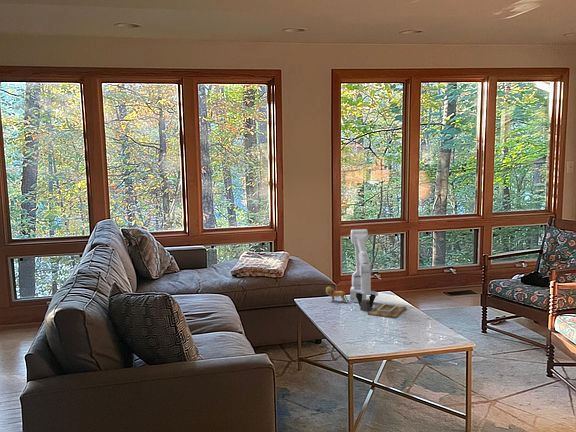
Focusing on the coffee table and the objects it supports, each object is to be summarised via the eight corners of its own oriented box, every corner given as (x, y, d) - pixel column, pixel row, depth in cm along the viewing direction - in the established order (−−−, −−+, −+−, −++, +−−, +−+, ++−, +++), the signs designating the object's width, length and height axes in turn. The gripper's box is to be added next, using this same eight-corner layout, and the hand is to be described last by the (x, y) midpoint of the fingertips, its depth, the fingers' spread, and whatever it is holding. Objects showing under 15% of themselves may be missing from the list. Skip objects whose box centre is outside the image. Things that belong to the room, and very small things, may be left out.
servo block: (359, 310, 328) (359, 301, 328) (365, 306, 336) (365, 297, 336) (366, 311, 326) (366, 302, 326) (371, 307, 334) (371, 298, 334)
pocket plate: (367, 314, 320) (367, 310, 320) (380, 305, 338) (380, 301, 337) (395, 318, 312) (395, 313, 312) (406, 308, 330) (406, 304, 330)
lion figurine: (324, 301, 349) (324, 287, 348) (327, 299, 354) (326, 285, 353) (348, 303, 344) (348, 288, 343) (350, 301, 349) (350, 286, 348)
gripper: (351, 284, 330) (351, 306, 331) (375, 286, 323) (375, 309, 324) (356, 281, 336) (356, 303, 337) (379, 283, 329) (379, 306, 330)
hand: (365, 306), depth 331 cm, fingers open, 6 cm apart
